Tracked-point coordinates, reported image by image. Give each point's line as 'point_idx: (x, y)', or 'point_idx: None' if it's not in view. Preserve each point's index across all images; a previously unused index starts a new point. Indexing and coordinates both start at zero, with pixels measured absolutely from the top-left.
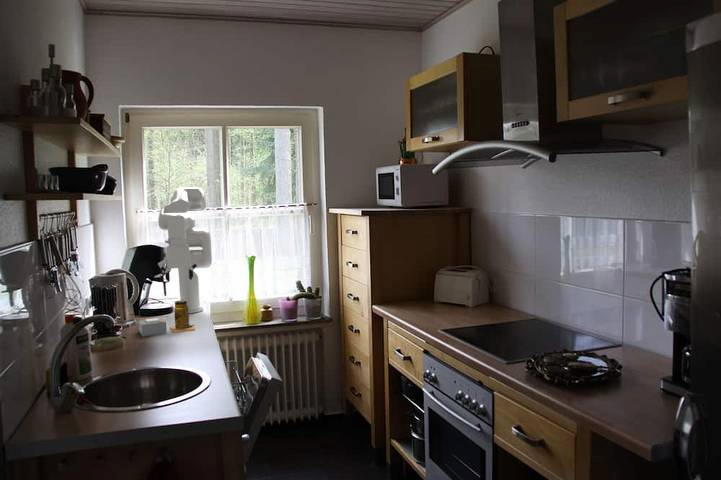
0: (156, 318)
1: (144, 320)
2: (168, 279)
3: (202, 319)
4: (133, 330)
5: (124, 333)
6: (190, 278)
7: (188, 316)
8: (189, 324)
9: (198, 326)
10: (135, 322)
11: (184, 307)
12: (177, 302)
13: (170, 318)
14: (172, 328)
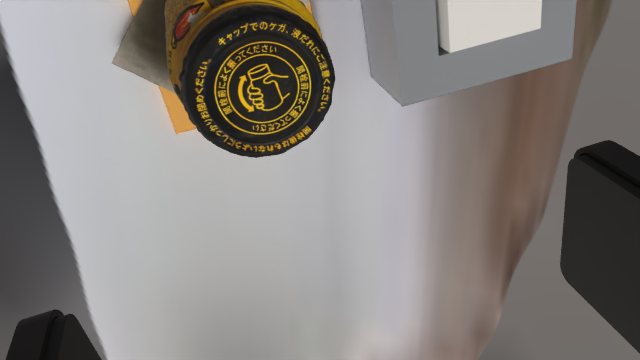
0: (457, 30)
1: (536, 46)
2: (634, 163)
3: (106, 294)
4: (545, 92)
5: (605, 19)
6: (60, 327)
7: (166, 24)
8: (177, 119)
9: (94, 68)
10: (504, 292)
11: (206, 8)
12: (302, 29)
13: (323, 349)
14: (304, 2)
